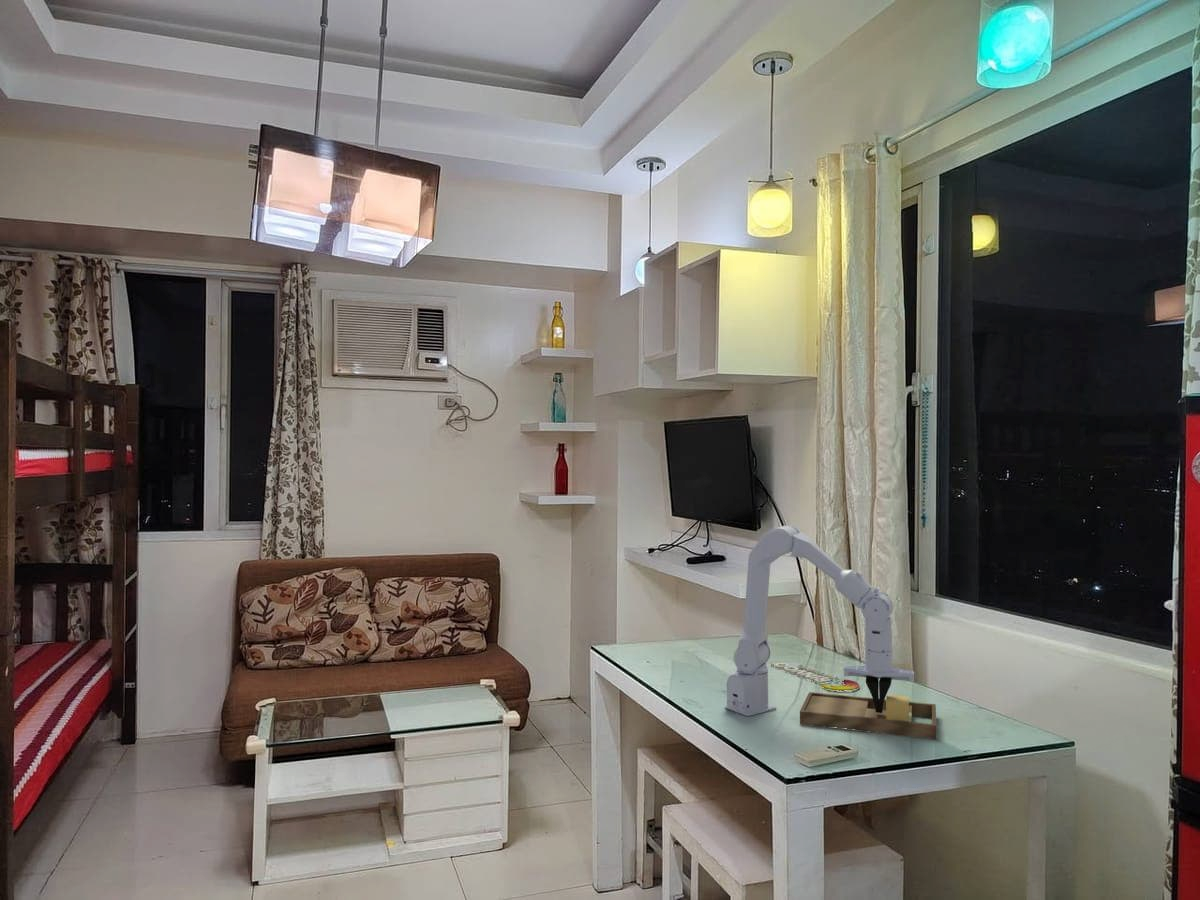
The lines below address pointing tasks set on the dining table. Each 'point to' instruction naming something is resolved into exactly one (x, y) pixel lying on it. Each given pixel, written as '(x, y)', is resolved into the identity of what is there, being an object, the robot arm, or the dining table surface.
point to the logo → (816, 676)
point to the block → (897, 707)
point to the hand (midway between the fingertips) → (879, 711)
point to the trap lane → (864, 715)
